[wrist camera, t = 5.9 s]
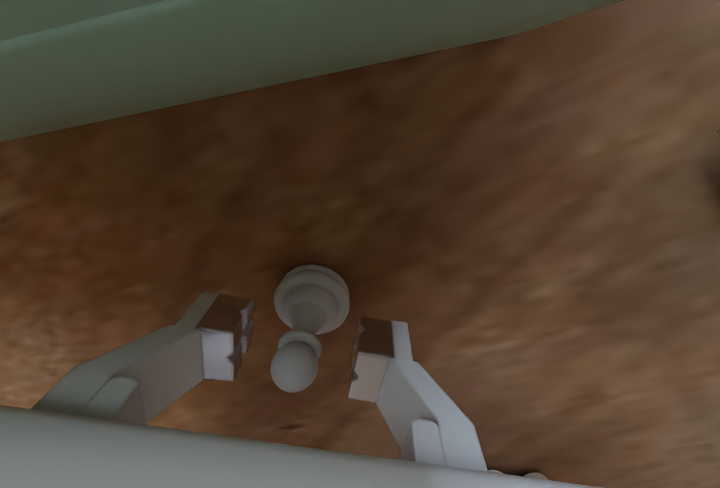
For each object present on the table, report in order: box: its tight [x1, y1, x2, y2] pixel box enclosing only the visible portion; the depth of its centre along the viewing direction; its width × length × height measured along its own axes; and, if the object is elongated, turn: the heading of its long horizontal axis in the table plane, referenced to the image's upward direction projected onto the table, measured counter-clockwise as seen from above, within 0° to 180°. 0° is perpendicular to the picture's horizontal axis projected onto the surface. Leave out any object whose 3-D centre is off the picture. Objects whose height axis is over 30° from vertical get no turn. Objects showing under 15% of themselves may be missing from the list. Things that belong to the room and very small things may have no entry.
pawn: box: [271, 264, 350, 393], centre depth 10 cm, size 3×3×4 cm
